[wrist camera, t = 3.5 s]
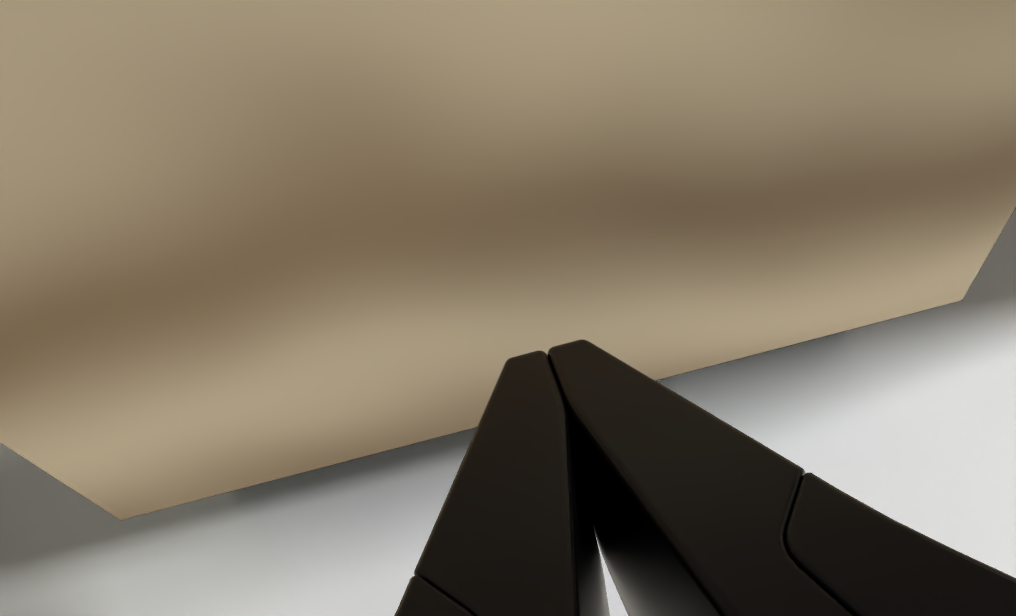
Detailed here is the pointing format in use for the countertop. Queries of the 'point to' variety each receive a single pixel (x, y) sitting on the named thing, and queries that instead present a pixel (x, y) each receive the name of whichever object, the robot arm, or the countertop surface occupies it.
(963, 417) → the countertop surface
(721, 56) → the birch lid
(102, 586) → the countertop surface
